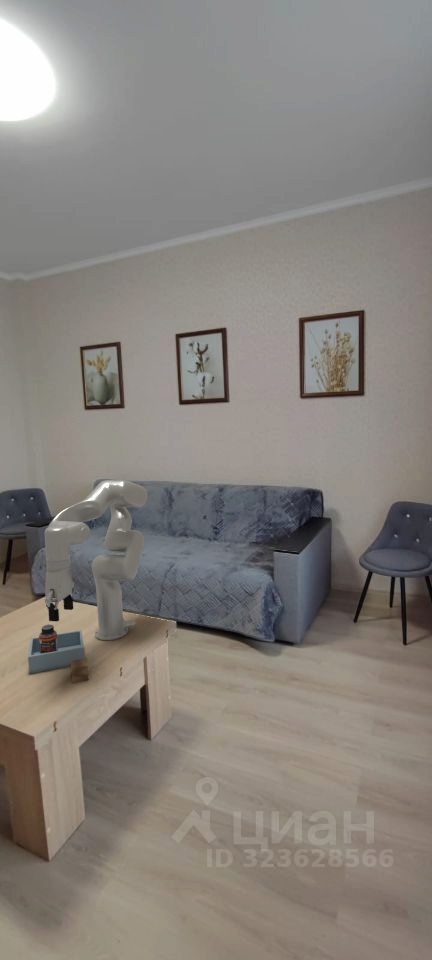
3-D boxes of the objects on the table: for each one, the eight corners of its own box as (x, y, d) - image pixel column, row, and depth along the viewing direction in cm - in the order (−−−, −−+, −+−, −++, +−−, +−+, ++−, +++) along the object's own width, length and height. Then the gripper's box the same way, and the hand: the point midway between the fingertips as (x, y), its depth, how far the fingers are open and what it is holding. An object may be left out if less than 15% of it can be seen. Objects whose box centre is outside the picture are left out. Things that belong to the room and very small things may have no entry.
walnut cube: (87, 672, 151) (86, 658, 150) (88, 680, 146) (87, 665, 146) (71, 675, 149) (70, 660, 149) (72, 683, 145) (71, 668, 144)
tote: (82, 644, 170) (81, 630, 170) (84, 663, 157) (83, 647, 156) (32, 653, 165) (30, 638, 164) (29, 673, 151) (28, 657, 150)
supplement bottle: (40, 663, 156) (38, 631, 155) (40, 655, 161) (37, 625, 160) (59, 659, 158) (56, 628, 157) (57, 652, 164) (55, 621, 162)
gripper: (60, 556, 157) (63, 605, 159) (33, 571, 140) (36, 625, 142) (81, 557, 156) (83, 605, 158) (56, 572, 139) (59, 626, 141)
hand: (61, 615), depth 150 cm, fingers open, 9 cm apart
